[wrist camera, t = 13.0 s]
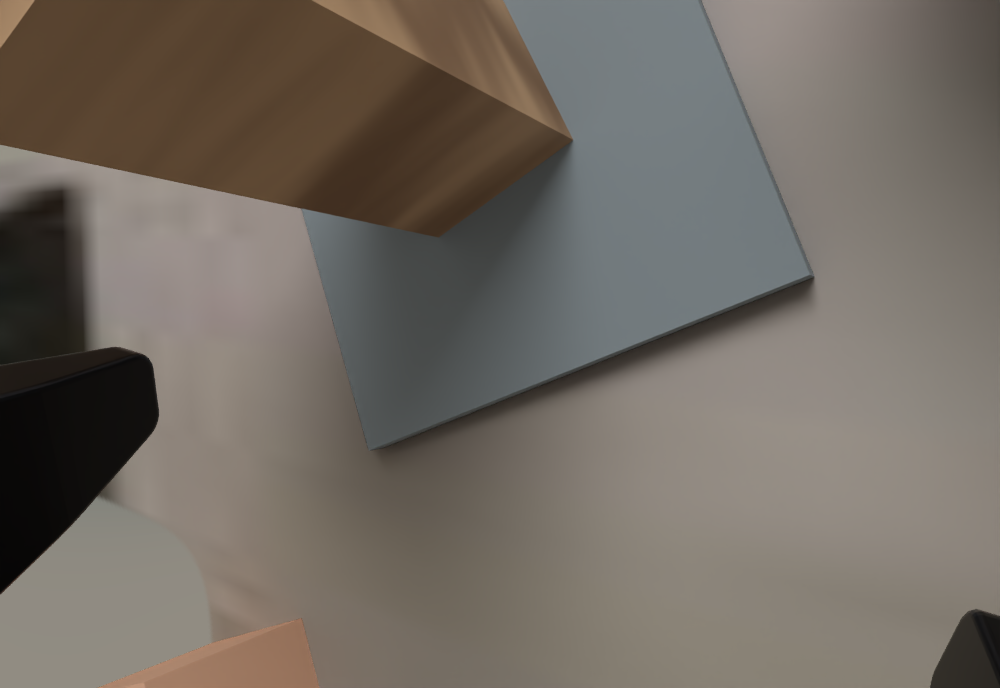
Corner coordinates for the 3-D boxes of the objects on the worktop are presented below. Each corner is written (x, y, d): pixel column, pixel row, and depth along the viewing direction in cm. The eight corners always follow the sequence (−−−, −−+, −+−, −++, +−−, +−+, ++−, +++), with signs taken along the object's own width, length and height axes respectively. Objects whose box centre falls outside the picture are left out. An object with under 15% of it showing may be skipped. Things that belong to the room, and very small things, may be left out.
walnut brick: (573, 140, 21) (111, -106, 9) (438, 237, 23) (-60, 131, 12) (500, -5, 22) (15, -375, 11) (379, 101, 24) (-124, -112, 13)
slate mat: (814, 276, 18) (809, 275, 17) (381, 448, 25) (368, 450, 24) (594, -261, 21) (585, -276, 20) (261, 23, 28) (248, 17, 27)
